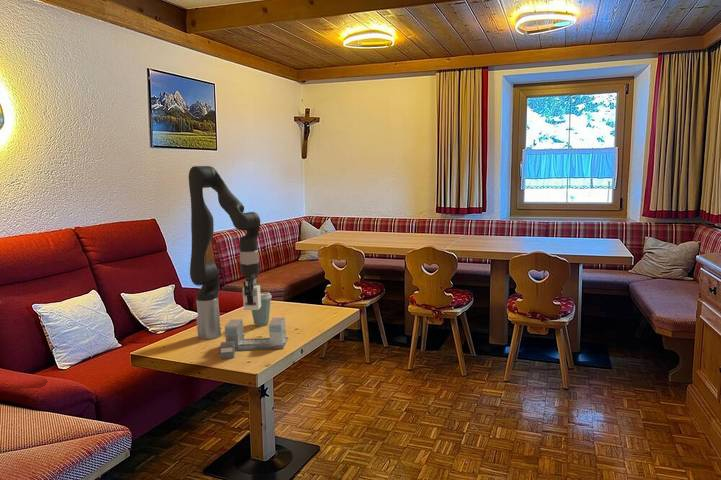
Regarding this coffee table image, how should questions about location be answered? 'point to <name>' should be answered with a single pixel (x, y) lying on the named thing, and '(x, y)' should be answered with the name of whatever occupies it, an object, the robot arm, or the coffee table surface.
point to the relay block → (227, 350)
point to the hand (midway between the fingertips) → (252, 302)
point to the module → (256, 299)
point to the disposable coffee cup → (262, 310)
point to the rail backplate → (274, 342)
